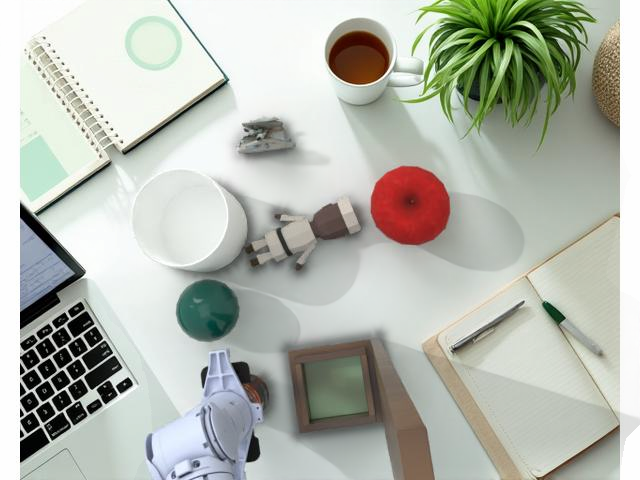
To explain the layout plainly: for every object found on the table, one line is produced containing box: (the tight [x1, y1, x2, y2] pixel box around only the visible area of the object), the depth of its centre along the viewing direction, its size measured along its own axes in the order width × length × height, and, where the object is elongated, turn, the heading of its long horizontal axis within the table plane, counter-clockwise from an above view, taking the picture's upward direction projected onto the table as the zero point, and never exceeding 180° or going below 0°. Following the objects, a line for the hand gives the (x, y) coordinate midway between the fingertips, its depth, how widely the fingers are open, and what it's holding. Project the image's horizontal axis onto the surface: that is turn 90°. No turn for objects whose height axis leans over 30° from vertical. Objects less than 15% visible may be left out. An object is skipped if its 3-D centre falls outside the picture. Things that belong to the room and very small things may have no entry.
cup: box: [130, 167, 248, 273], centre depth 77 cm, size 12×12×12 cm
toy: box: [243, 195, 362, 272], centre depth 80 cm, size 8×5×15 cm
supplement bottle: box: [242, 373, 270, 413], centre depth 75 cm, size 6×6×11 cm
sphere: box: [175, 278, 241, 343], centre depth 78 cm, size 8×8×8 cm
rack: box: [287, 337, 436, 480], centre depth 52 cm, size 11×12×57 cm
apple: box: [370, 165, 451, 246], centre depth 77 cm, size 10×10×11 cm
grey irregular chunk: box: [235, 115, 297, 154], centre depth 81 cm, size 4×8×7 cm, turn 97°
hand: (241, 403), depth 76 cm, fingers closed on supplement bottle, 6 cm apart
